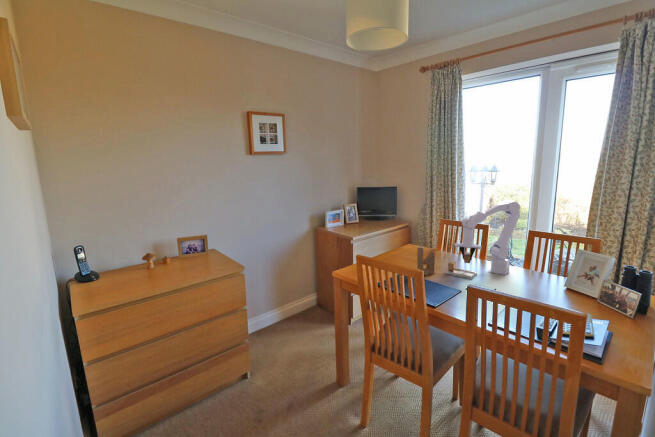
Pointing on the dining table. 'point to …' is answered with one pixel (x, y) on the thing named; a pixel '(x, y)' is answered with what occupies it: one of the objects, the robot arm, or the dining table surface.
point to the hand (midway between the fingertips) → (467, 259)
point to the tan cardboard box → (467, 257)
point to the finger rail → (460, 271)
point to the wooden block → (425, 261)
